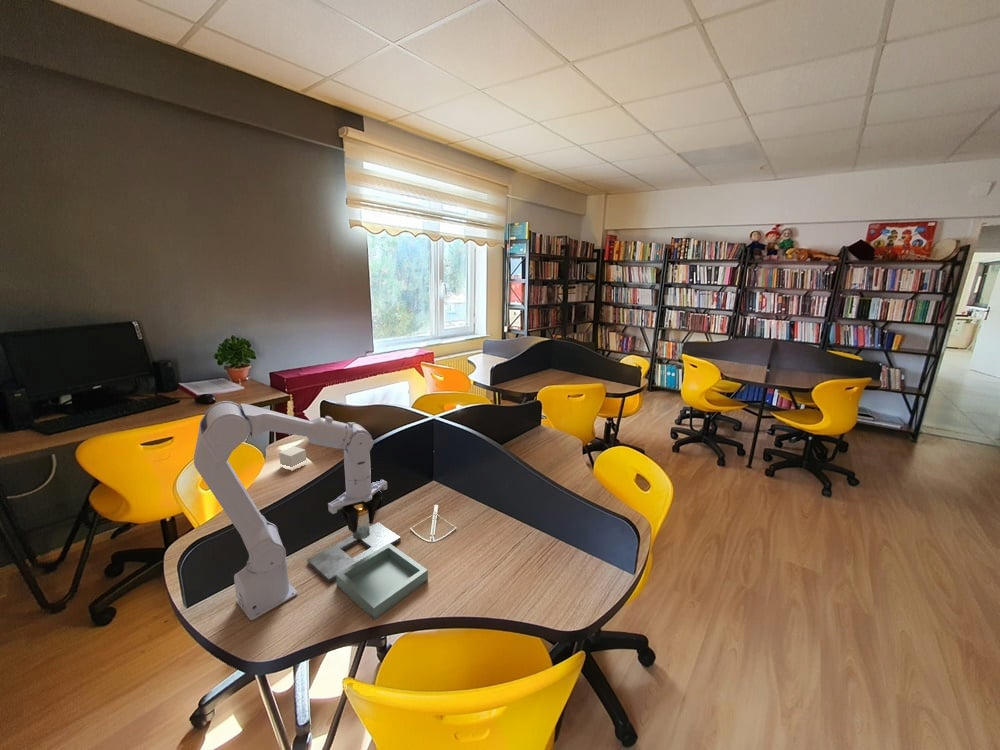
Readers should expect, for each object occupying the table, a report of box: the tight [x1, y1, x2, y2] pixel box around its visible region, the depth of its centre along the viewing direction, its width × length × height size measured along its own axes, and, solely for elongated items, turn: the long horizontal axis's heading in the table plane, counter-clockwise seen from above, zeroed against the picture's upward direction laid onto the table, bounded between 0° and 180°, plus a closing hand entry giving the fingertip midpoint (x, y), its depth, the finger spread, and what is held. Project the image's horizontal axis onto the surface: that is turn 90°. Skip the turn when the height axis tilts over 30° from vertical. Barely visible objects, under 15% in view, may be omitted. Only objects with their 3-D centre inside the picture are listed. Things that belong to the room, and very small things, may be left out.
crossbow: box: [409, 504, 457, 543], centre depth 115 cm, size 16×13×2 cm
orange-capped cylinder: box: [351, 503, 371, 539], centre depth 97 cm, size 4×4×7 cm
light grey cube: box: [278, 445, 307, 467], centre depth 144 cm, size 6×6×6 cm
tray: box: [335, 543, 429, 621], centre depth 92 cm, size 14×14×3 cm
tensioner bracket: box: [306, 521, 402, 584], centre depth 102 cm, size 20×10×1 cm, turn 141°
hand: (361, 526), depth 98 cm, fingers closed on orange-capped cylinder, 4 cm apart
